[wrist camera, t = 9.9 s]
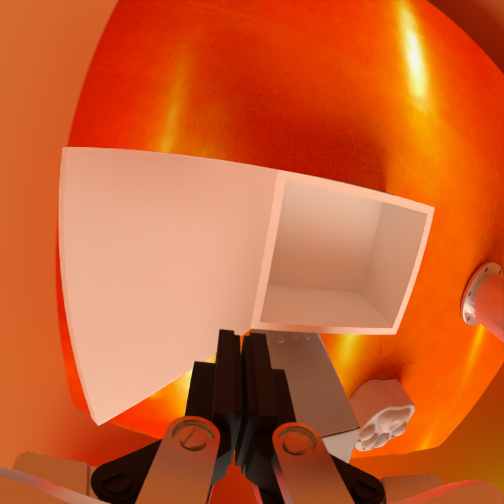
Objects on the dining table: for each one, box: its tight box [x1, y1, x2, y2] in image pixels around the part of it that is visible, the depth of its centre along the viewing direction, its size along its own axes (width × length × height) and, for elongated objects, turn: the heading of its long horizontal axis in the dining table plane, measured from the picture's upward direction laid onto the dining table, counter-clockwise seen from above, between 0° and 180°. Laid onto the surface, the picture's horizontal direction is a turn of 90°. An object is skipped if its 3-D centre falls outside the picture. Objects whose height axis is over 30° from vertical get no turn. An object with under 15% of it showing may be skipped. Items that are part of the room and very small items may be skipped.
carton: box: [250, 170, 435, 334], centre depth 29 cm, size 16×14×10 cm
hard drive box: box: [253, 329, 360, 463], centre depth 29 cm, size 16×8×20 cm, turn 5°
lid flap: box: [59, 147, 278, 425], centre depth 17 cm, size 16×14×1 cm
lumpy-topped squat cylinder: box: [349, 379, 415, 451], centre depth 40 cm, size 10×13×9 cm
